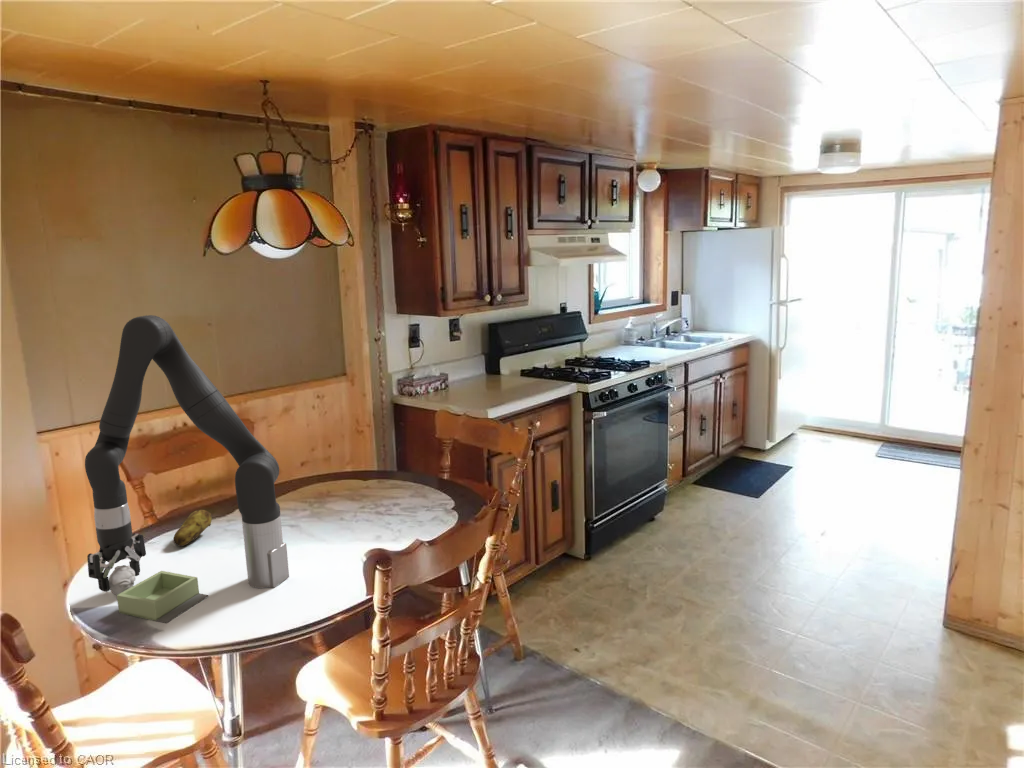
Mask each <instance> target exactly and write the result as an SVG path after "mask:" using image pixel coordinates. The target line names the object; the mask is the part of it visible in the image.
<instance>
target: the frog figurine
mask: <svg viewBox="0 0 1024 768" xmlns="http://www.w3.org/2000/svg"><path fill="white" fill-rule="evenodd" d="M108 579H109V586H110V590H109V591H111V592H112V594H114V595H115V596H117V595H118V594H120V593H122V592H124V591H125V590H127V589H129V588H131V587H133V586H135V585H134V584H135V581H136V579H137V577H136V576H135V571H134V570H133V569H132V568H131V567H130V565H125V564H124V565H123V564H122V565H117V566H116V567H114V570H113V571H112V572H111V574H110V575H109V576H108Z"/></svg>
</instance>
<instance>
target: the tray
mask: <svg viewBox="0 0 1024 768" xmlns="http://www.w3.org/2000/svg"><path fill="white" fill-rule="evenodd" d="M199 590H200V589H199V581H198V577H197V576H192V575H187V574H181V573H175V572H171V571H170V572H169V571H165V570H160V571H158V572H157V573H154V574H153V575H151V576H149V577H147V578H146V579H144V580H142V581H140V582H138V583H136V584H135V585H133V587H131V588H129V589H127V590H125V591H124V592H122V593H120V594H118V595H116V601H117V605H118V607H117V609H118V613H119V614H120V615H121V614H122V615H127V616H131V617H136V618H140V619H144V620H149V621H153V622H158V623H164V624H168V623H169V622H171V621H172V620H174V619H176V618H177V617H178V616H180V615H181V614H183V613H184V612H186V611H188V610H190V609H191V608H193V607H194V606H196V605H197V604H199V603H201V602H202V601H204V600H205V599H207V598H208V597H209V594H206V593H200V591H199Z"/></svg>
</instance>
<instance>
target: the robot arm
mask: <svg viewBox="0 0 1024 768" xmlns="http://www.w3.org/2000/svg"><path fill="white" fill-rule="evenodd" d="M119 344H120V345H119V353H118V358H117V363H116V364H117V365H116V368H115V372H114V377H113V381H112V384H111V388H110V391H109V394H108V398H107V400H106V403H105V406H104V408H103V412H102V414H101V417H100V421H99V424H98V428H99V434H98V436H97V440H96V442H95V444H94V446H93V447H92V448H91V449H90V450H89V451H88V452H87V453H86V456H85V458H84V469H85V474H86V478H87V479H88V483H89V486H90V487H91V489H92V498H93V499H92V500H93V507H94V511H93V513H94V515H93V518H94V525H95V526H94V527H95V534H96V542H97V544H98V545H99V549H98V552H95V553H88V554H87V559H86V560H87V570H88V571H87V572H88V577H89V578H91V579H95V580H97V582H98V583H97V584H98V589H99V590H101V592H105V593H107V592H109V591H111V590H110V586H109V574H110V571H111V570H113V568H114V565H116V564H117V563H119V562H120V561H121V560H122V561H123V560H125V559H128V560H129V566H130V567H131V568H132V569H133V570H134V571H135V577H138V576H140V573H141V567H140V566H141V565H140V564H141V563H140V561H141V558H142V557H145V556H146V555H147V552H146V551H147V550H146V544H145V539H144V535H143V534H140V533H133V527H132V521H131V518H132V517H131V510H130V507H129V503H128V495H127V494H128V493H127V488H126V484H125V482H124V480H122V479H121V475H120V469H119V467H120V465H121V464H122V462H123V461H124V459H125V456H126V454H127V450H128V446H129V441H130V435H131V432H132V430H133V428H134V425H135V423H136V419H137V416H138V413H139V411H140V407H141V402H142V394H143V385H144V379H145V375H146V373H147V370H148V367H149V365H150V364H151V361H153V362H154V363H155V364H156V365H157V366H158V368H160V370H161V371H162V372H163V373H164V375H165V377H166V379H167V381H168V383H169V385H170V387H171V391H172V392H173V395H174V397H175V399H176V401H177V403H178V405H179V406H180V408H181V409H182V410H183V412H184V414H186V416H187V417H188V418H189V419H190V421H191V422H192V423H193V424H194V426H195V427H196V428H198V430H199V431H201V432H202V433H204V434H205V435H207V436H208V437H209V438H210V439H212V440H213V441H216V442H217V443H219V444H220V445H221V446H222V447H223V448H224V449H226V450H227V452H228V453H229V454H230V455H231V456H232V458H233V459H234V461H235V462H236V463H237V465H238V468H236V471H235V474H234V475H235V476H234V483H235V484H234V486H235V494H236V495H235V496H236V501H237V508H238V511H239V513H240V515H241V522H242V532H243V533H242V534H243V542H244V544H243V545H244V553H245V555H244V556H245V561H246V562H245V563H246V564H245V565H246V572H247V574H246V575H247V582H248V583H247V584H248V585H249V586H250V587H252V588H257V589H265V588H276V587H277V586H278V585H280V584H281V583H282V582H284V581H286V580H287V579H288V578H290V572H289V571H290V570H289V560H288V558H289V557H288V548H287V543H286V542H284V540H283V539H284V538H283V529H282V517H281V516H282V515H281V506H280V504H279V503H278V502H277V498H276V490H275V482H276V481H277V480H278V477H279V476H280V466H279V463H278V461H277V459H276V458H275V457H274V455H273V454H271V452H269V451H268V449H267V448H266V447H265V446H264V445H263V444H262V443H261V442H260V441H259V440H258V439H257V438H256V437H255V436H254V435H253V434H252V432H251V431H250V430H249V429H248V427H247V426H246V425H245V424H244V422H243V421H242V419H241V418H240V417H239V415H238V414H237V413H236V411H235V410H234V409H233V407H232V406H231V404H230V403H229V401H228V400H226V398H225V397H224V396H223V394H222V393H221V392H220V390H218V387H217V386H215V385H214V383H213V382H212V381H211V380H210V379H209V377H208V376H207V375H206V373H205V372H204V371H203V370H202V369H201V367H199V365H197V363H196V362H195V361H194V360H193V358H192V357H191V356H190V354H189V353H188V351H186V348H185V346H184V345H183V343H182V342H181V341H180V339H179V337H178V336H177V334H176V332H175V331H174V329H173V328H172V326H171V325H170V323H168V321H166V320H165V319H164V318H163V317H161V316H159V315H158V316H157V315H153V314H150V315H147V314H146V315H140V316H136V317H133V318H131V319H130V320H128V321H127V322H126V323H125V325H124V327H123V329H122V332H121V337H120V343H119ZM132 546H133V549H132Z"/></svg>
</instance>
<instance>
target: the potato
mask: <svg viewBox="0 0 1024 768" xmlns="http://www.w3.org/2000/svg"><path fill="white" fill-rule="evenodd" d="M212 516H213V515H212V513H211V512H210V511H208V510H206V509H197V510H195V511H193V512H191V513H190V514H189V516H188V517H186V519H185V520H184V522H183V523H182V524H181V526H180V527H179V528H178V529H177V531H176V532H175V534H174V535H173V543H174V545H175V546H179V547H184V546H187V545H188V544H189V543H191V542H193V541H195V540H196V539H197V538H198V537H199V536H200V535H201V534H202V533H203V532H204V531H205V530H206V529H207V528H208V527H211V525H212V520H213V519H212Z"/></svg>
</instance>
